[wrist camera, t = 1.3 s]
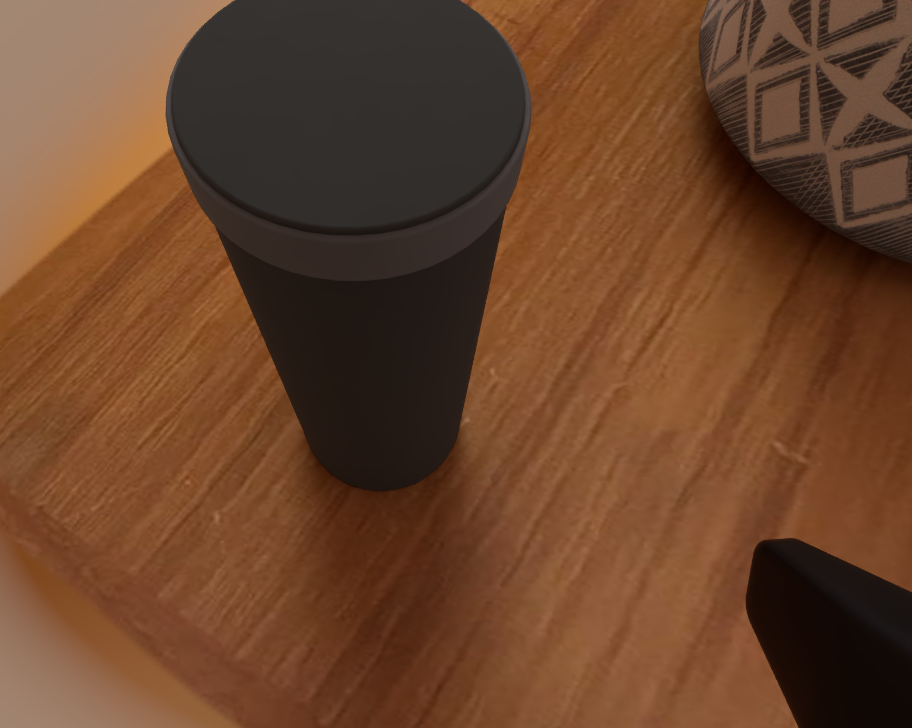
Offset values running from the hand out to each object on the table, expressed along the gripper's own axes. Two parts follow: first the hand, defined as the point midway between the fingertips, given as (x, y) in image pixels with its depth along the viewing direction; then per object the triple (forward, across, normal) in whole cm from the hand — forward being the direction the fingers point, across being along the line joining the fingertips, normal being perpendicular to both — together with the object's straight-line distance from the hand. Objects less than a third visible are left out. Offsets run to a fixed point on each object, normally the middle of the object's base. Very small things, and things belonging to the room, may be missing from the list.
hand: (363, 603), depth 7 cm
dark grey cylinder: (+14, 0, +4) cm, 15 cm away
